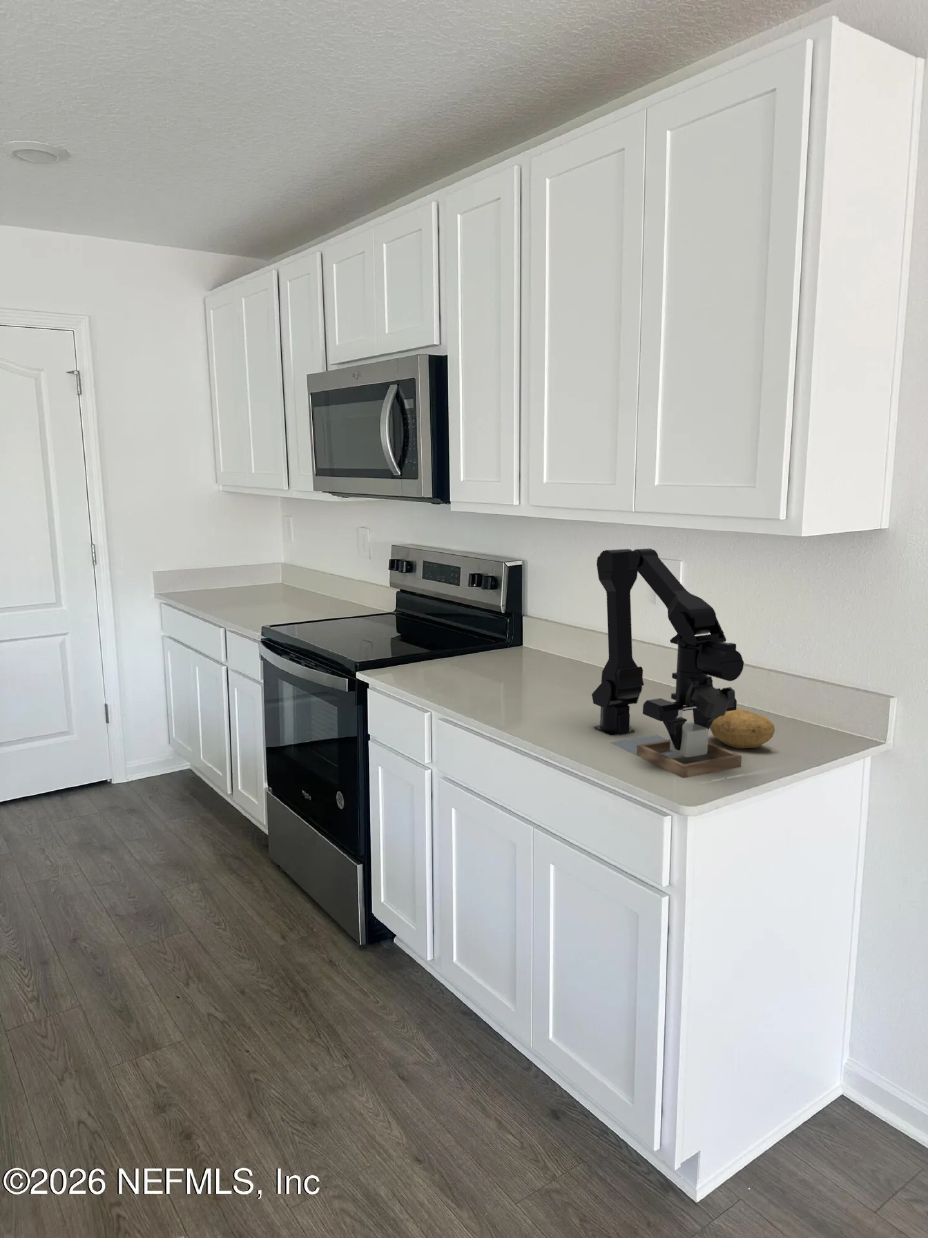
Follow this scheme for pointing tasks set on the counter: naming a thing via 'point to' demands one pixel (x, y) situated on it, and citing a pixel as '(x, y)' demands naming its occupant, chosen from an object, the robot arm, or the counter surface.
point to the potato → (742, 729)
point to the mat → (632, 743)
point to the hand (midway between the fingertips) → (688, 747)
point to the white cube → (692, 740)
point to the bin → (721, 762)
